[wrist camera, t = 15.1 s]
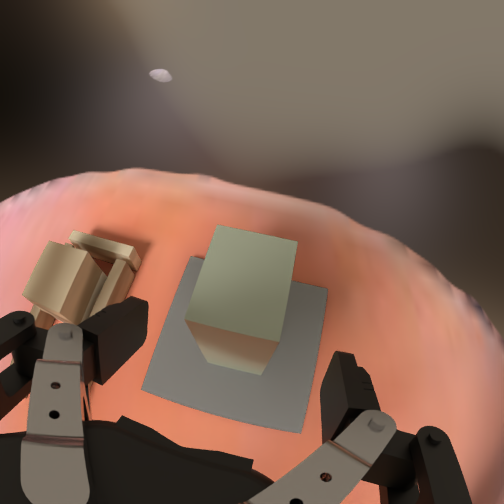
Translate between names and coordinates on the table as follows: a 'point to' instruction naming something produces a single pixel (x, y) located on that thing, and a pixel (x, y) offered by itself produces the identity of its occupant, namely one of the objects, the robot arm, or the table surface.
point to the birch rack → (115, 282)
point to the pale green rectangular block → (241, 298)
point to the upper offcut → (63, 282)
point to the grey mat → (235, 381)
